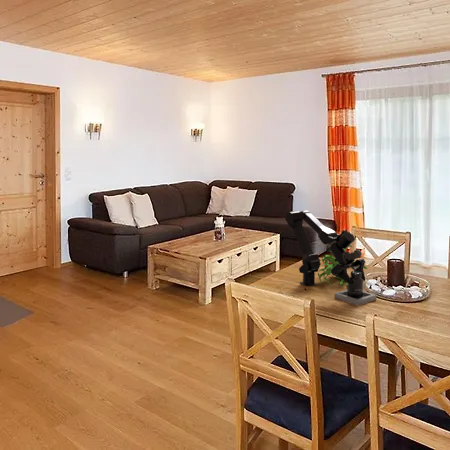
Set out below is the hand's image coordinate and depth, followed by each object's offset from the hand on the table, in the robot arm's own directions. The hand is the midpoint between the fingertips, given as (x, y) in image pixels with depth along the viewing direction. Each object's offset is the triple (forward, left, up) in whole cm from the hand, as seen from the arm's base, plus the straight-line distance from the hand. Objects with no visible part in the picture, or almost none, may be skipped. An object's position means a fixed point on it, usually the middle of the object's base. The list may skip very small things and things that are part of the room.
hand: (358, 282), depth 203 cm
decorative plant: (-28, +9, -8) cm, 31 cm away
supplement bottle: (-1, 0, -8) cm, 8 cm away
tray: (-1, 0, -8) cm, 8 cm away
